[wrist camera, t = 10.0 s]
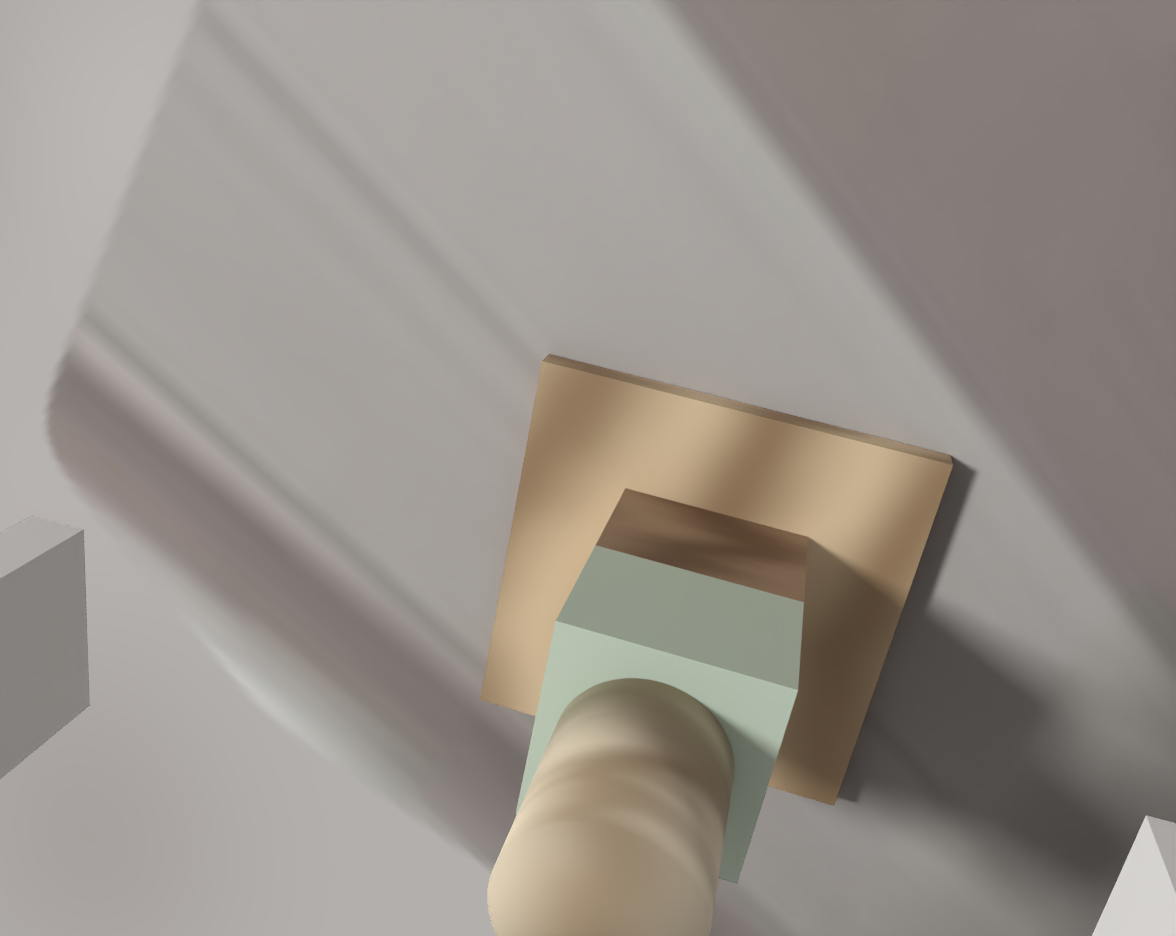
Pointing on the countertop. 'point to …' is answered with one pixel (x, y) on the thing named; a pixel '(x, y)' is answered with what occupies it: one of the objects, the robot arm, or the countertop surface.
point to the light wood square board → (731, 487)
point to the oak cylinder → (619, 820)
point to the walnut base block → (708, 543)
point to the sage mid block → (681, 664)
